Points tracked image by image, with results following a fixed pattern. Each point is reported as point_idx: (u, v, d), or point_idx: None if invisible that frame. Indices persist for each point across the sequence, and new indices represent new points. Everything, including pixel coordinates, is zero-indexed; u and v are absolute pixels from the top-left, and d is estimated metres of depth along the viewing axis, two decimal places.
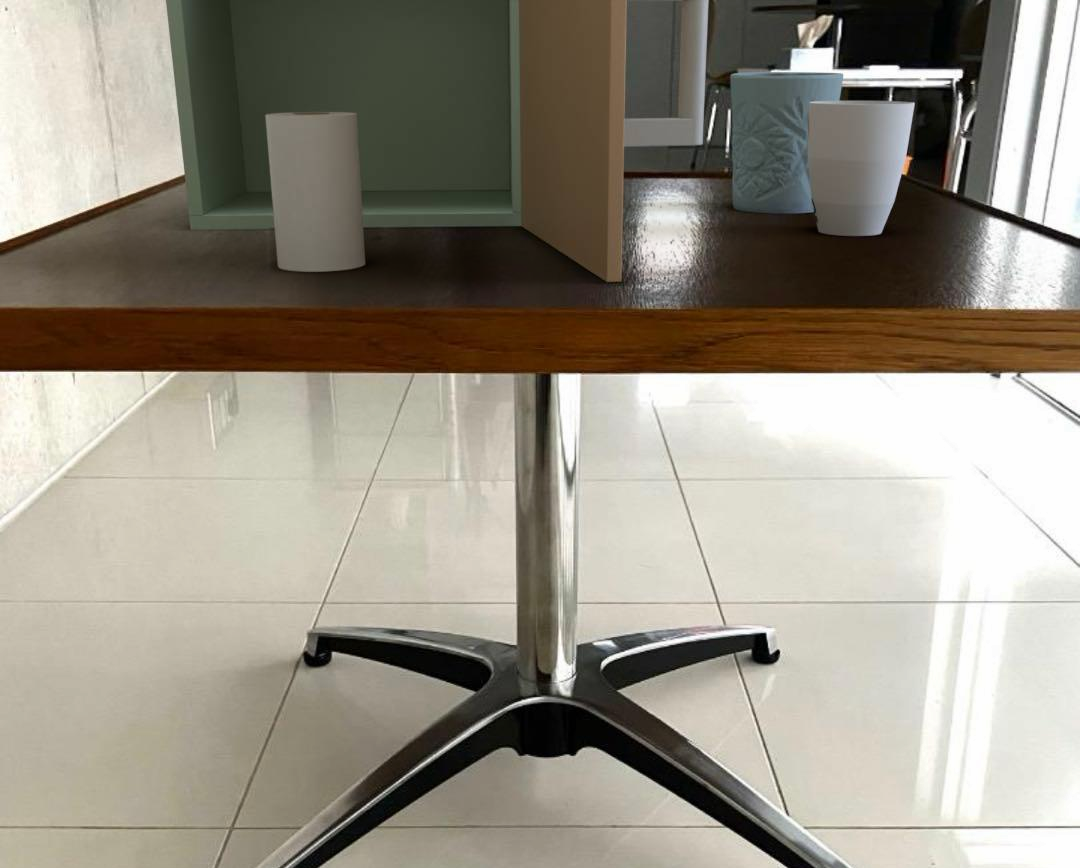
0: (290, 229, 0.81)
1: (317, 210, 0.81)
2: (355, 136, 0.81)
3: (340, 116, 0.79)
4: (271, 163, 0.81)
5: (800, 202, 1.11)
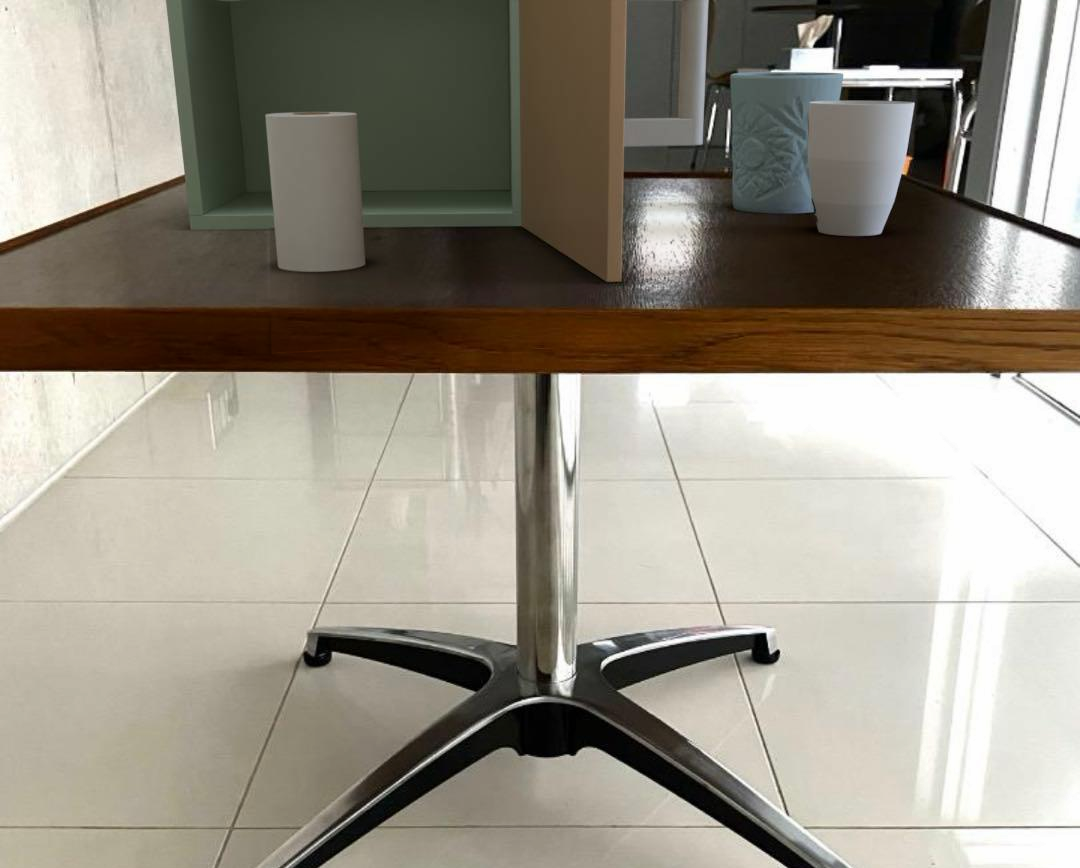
0: (290, 229, 0.81)
1: (317, 210, 0.81)
2: (355, 136, 0.81)
3: (340, 116, 0.79)
4: (271, 163, 0.81)
5: (800, 202, 1.11)
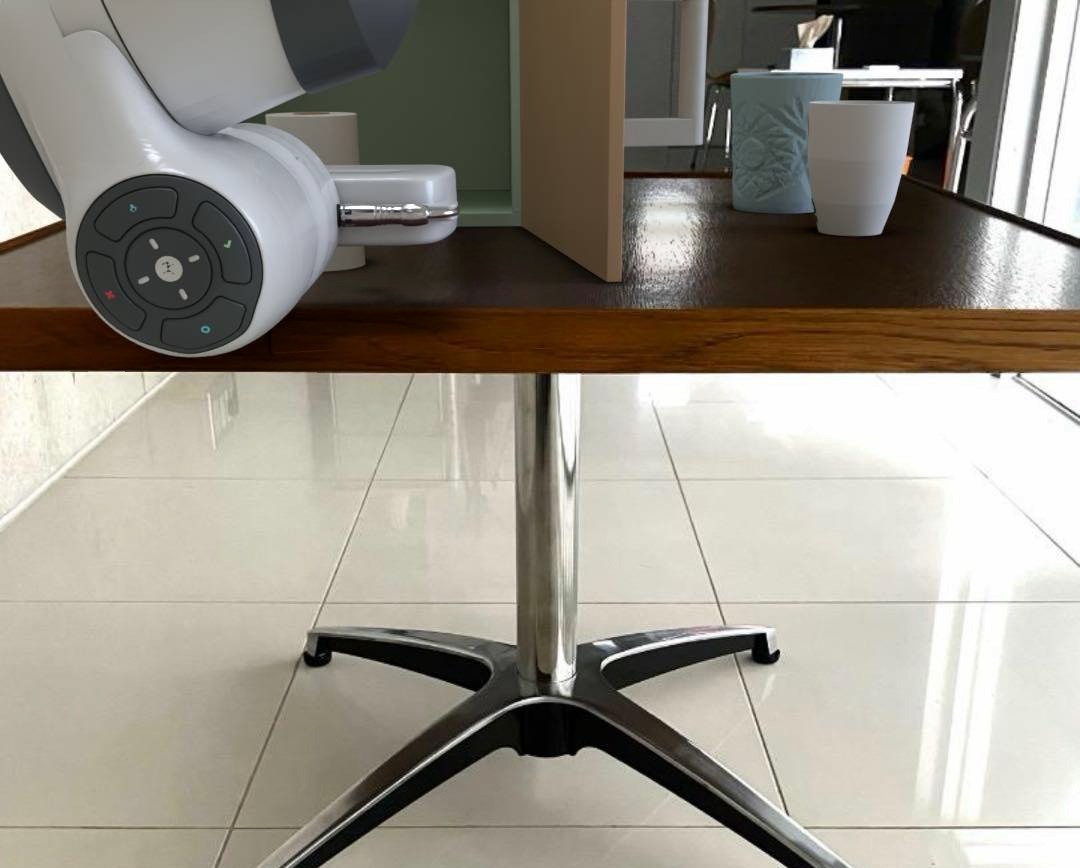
0: None
1: None
2: (355, 136, 0.81)
3: (340, 116, 0.79)
4: None
5: (800, 202, 1.11)
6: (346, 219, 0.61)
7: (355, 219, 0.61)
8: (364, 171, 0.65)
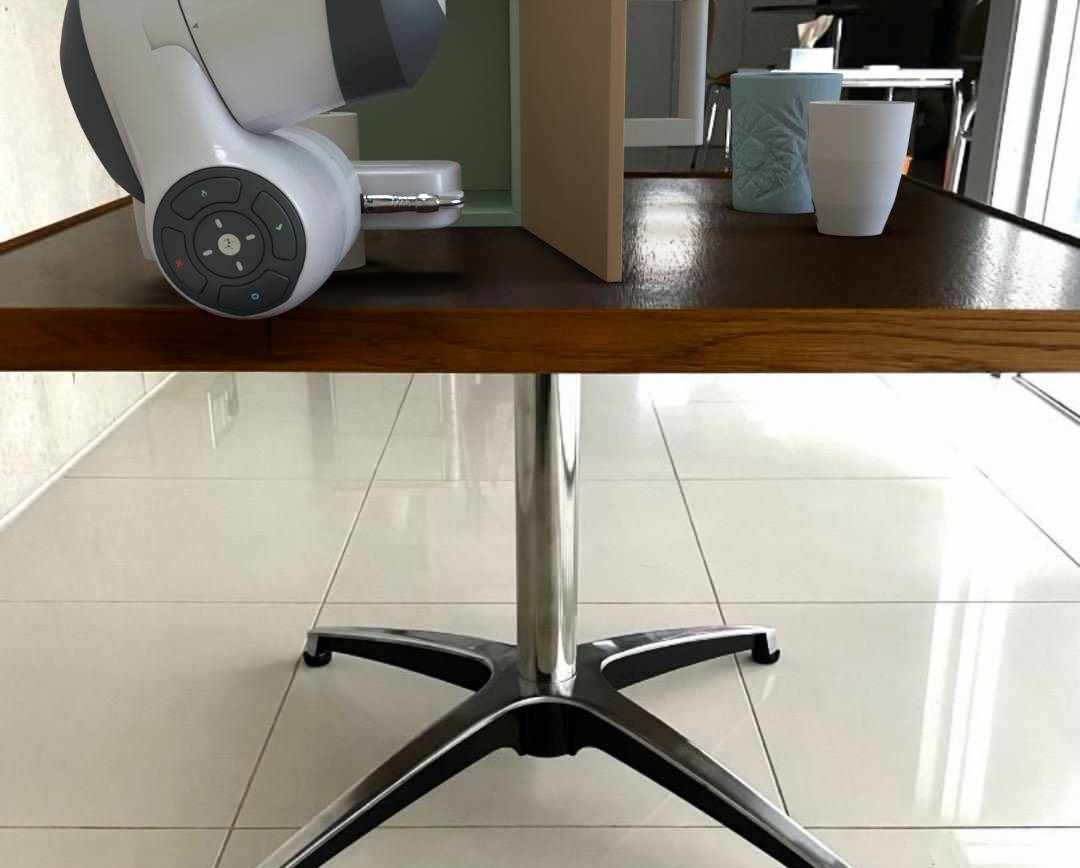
0: None
1: None
2: (355, 136, 0.81)
3: (340, 116, 0.79)
4: None
5: (800, 202, 1.11)
6: (368, 206, 0.71)
7: (376, 207, 0.71)
8: (382, 166, 0.75)
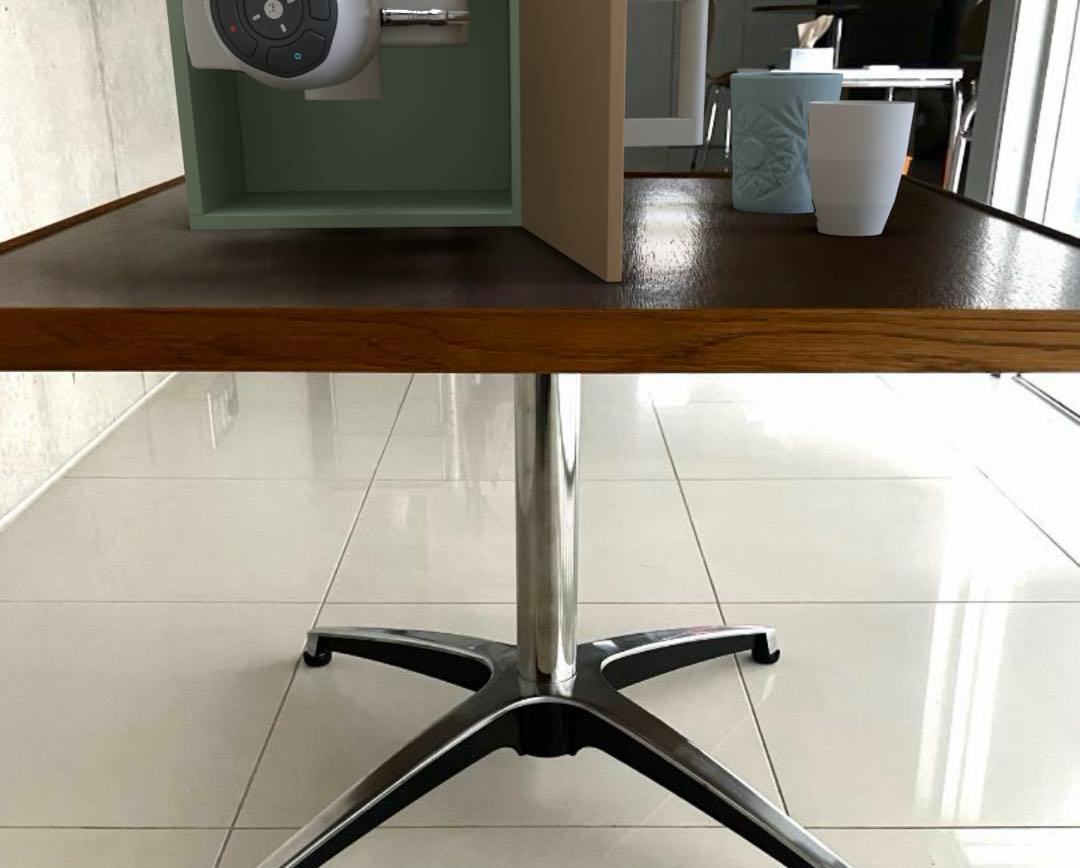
0: None
1: None
2: None
3: None
4: None
5: (800, 202, 1.11)
6: (387, 19, 0.82)
7: (393, 19, 0.82)
8: None
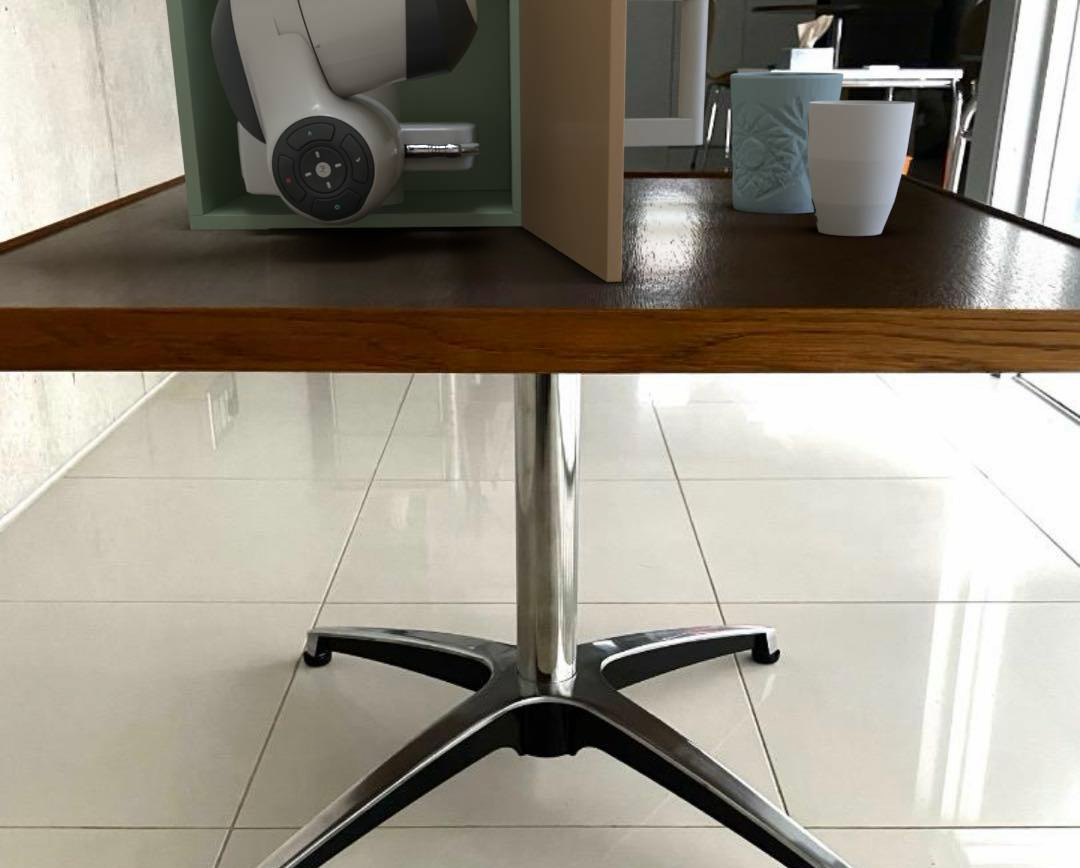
0: None
1: None
2: (398, 102, 1.08)
3: (387, 86, 1.06)
4: None
5: (800, 202, 1.11)
6: (410, 153, 0.98)
7: (416, 153, 0.98)
8: (419, 125, 1.02)
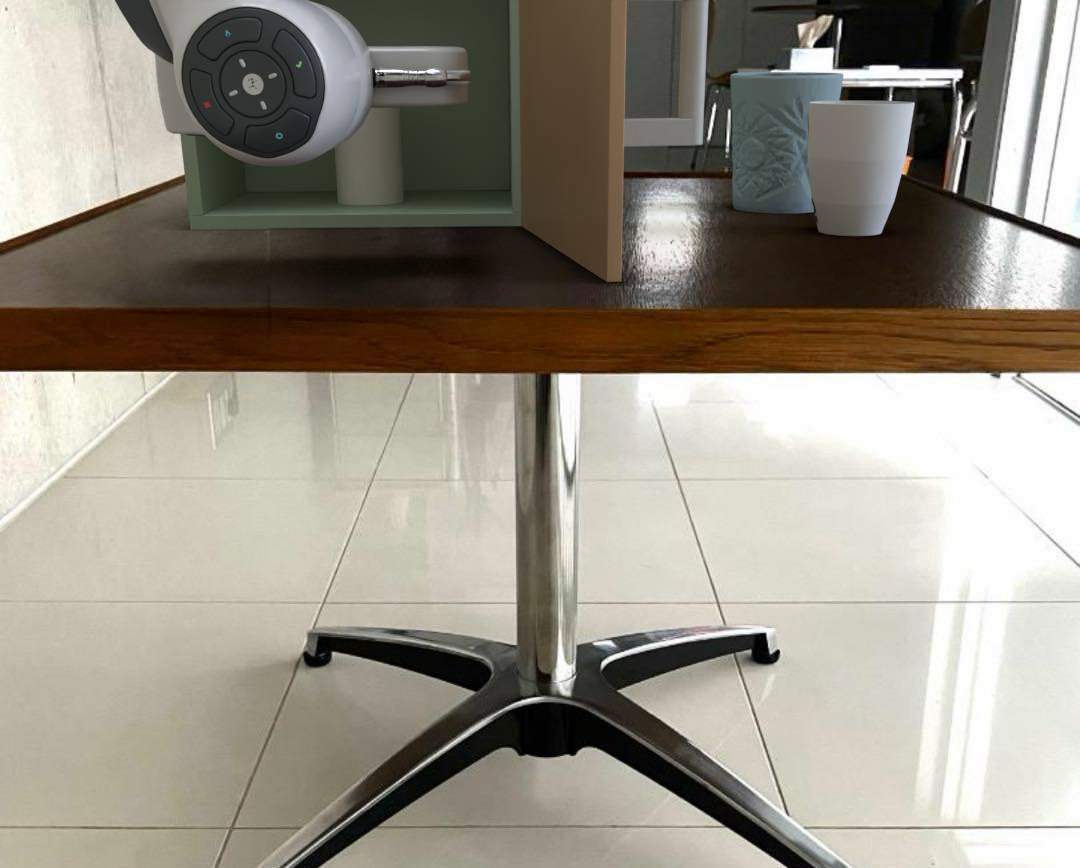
0: (348, 172, 1.08)
1: (369, 158, 1.07)
2: None
3: None
4: None
5: (800, 202, 1.11)
6: (380, 80, 0.75)
7: (387, 80, 0.75)
8: None
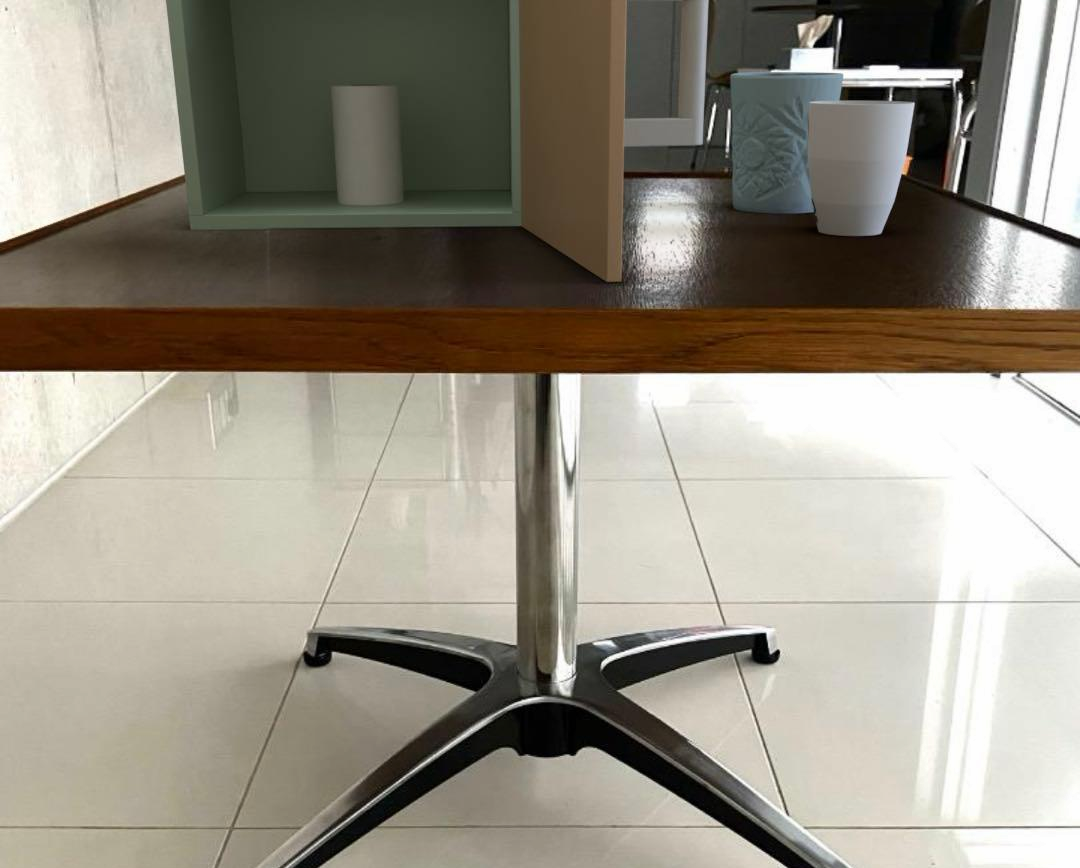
0: (348, 172, 1.08)
1: (369, 158, 1.07)
2: (398, 102, 1.08)
3: (387, 86, 1.06)
4: (335, 122, 1.07)
5: (800, 202, 1.11)
6: None
7: None
8: None
